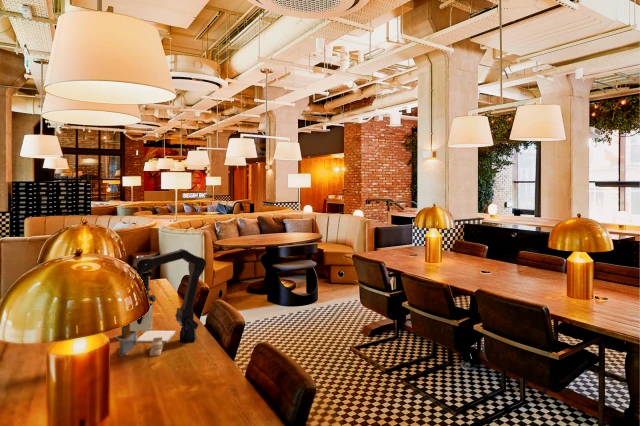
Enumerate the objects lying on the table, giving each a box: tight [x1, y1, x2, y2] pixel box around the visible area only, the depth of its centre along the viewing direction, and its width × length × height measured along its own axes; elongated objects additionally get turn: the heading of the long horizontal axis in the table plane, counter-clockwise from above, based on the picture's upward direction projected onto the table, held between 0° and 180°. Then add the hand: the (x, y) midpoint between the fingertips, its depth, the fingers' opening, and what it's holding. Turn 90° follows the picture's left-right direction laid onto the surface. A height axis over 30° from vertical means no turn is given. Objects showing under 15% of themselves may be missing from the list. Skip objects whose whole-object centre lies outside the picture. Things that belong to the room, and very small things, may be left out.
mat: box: [136, 330, 177, 343], centre depth 199 cm, size 14×14×1 cm
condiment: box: [114, 324, 139, 342], centre depth 198 cm, size 7×8×12 cm
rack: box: [118, 331, 138, 358], centre depth 182 cm, size 2×14×7 cm, turn 3°
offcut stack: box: [149, 337, 165, 357], centre depth 182 cm, size 4×10×5 cm, turn 12°
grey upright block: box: [130, 305, 153, 332], centre depth 181 cm, size 8×4×10 cm, turn 93°
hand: (141, 322), depth 181 cm, fingers closed on grey upright block, 4 cm apart
